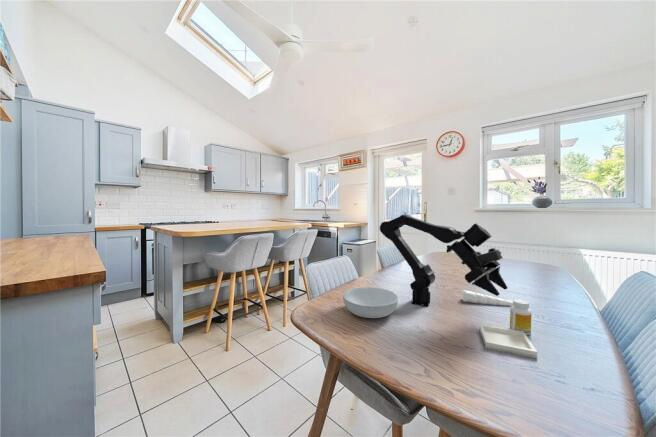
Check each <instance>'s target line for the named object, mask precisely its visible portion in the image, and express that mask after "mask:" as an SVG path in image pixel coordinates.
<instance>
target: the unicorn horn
mask: <svg viewBox="0 0 656 437" xmlns="http://www.w3.org/2000/svg"><path fill="white" fill-rule="evenodd" d="M461 299H462V302H464V303H473V304H482V305H483V304H484V305H493V306H494V305H495V306H503V307H512V306H514V305H513V300H507V299H504V298H498V297H497V296H496V297H495V296H491V295H486V294H482V293H478V292H474V291H470V290H466V289H463V290H462V294H461Z"/></svg>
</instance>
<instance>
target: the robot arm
mask: <svg viewBox="0 0 656 437" xmlns="http://www.w3.org/2000/svg"><path fill="white" fill-rule="evenodd" d="M404 226H408V227H410V228H413V229H416V230H418V231H421V232H424V233H427V234H429V235H430V236H432V237H434V238H435V239H436V240H438V241H440V243H444V244H449V245H446V251H445V252H446V253H452V252H454V254H455V255H456V256H457V257H458V258H459V259H460V260H461V264H462V265H463V266H464V265H465V266H466V267H467V268H468V269H469V270H470V271H469V272H466V274H465V275H464V280H465V281H466V282H467V283H468V284H471V285H472V286H473V285H474V286H476V287H478V288H480V289H483V290H485V291H487V292H488V293H490V294H492V295H495V296H496V297H499V295H501V294H500V292H499V290H498V289H497V288H496V287H495V285H497V286H498V287H500V288H501V289H503V290H507V289H508V285H507V284H506V282H505V280H504V278H503V277H502V275H501V273H500V269H501V266H500V265H501V264H500V263H499V261H500V260H501V259H503V256H502V251H500V250H499V249H497V248H495V247H492V248H489V249H488V251H487V252H484V253H481V252H480V251H476V250H475V249H474V248H473V247H476V248H477V247H478V248H479V247H480V246H481V245H483V244H484V243H485V242H486V241H488V240H490V239H491V238H492V235H491V234H490V232H488V231H487V229H485V228H484V227H482V226H481V225H479V224H478V223H476V222H475V223H474V224H473V225H471V227H469V229H467V230H465V231H460V230H457V229H456V228H454V227H451V226H445V225H438V224H433V223H430V222H428V221H425V220H421V219H418V218H416V217H413V216H410V215H408V214H401V215H399V216H398V217H397V218H394V219H391V220H388V221H383V222H381V223H380V225H379V231H380V233H381V234H382V235H383V236H384V237H385V238H387V239H388V240H390V241H391V242H392V243H393V245H394V247H396V250H398V252H399V253H400V255H401V256H402V257H403V259H404V260H405V261H406V263H407V265H408V266H409V267H410V268H411V271H412V276H413V278H414V281H412V282H411V283H409V286H410V288H411V289H410V290H412V292H411V294H412V295H411V296H412V298H411V300H412V301H411V304H412V305H419V306H424V307H429V305H430V304H431V291H430V286H431V285H432V284H433V283H434V282H435V281H436V276H435V275H436V274H435V271H434V270H433V269H432V268H431V265H429V263H428V264H426V265H425V264H423V263H422V262H421V261H420V259H419V258H418V257H417V255H416V253H414V251H413V250H412V248H411V246H409V244H408V243H407V242H406V240H405V239H404V238H403V236H402V233H401V229H400V228H402V227H404ZM458 240H459V241H458ZM452 242H453V243H452ZM450 243H452V244H451V245H450ZM493 283H494V284H495V285H494V284H493Z"/></svg>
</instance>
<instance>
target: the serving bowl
mask: <svg viewBox="0 0 656 437" xmlns="http://www.w3.org/2000/svg"><path fill="white" fill-rule="evenodd" d="M342 300H343V304H344V306H345V308H346V309H347V311H349V312H351V313H352V314H353V315H355V316H358V317H361V318H366V319H367V318H368V319H380V318H381V319H382V318H384V317H387V316H390V315H391V314H393V312H394V311H395V310H396V309H397V306H398V302H399V296H398V295H397V294H396V293H395V292H394V291H391V290H388V289H385V288H381V287H373V286H372V287H371V286H359V287H352V288H349V289H347V290H345V291H344V292H343V293H342Z"/></svg>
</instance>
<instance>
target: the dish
mask: <svg viewBox="0 0 656 437" xmlns="http://www.w3.org/2000/svg"><path fill="white" fill-rule="evenodd" d="M479 332H480V335H481V338H482V342H483V343H484V344H483V345H484V347H485V349H488V350H492V351H498V352H503V353H507V354H513V355H519V356H524V357H528V358H534V359H538V350H537V349H536V347H535V346H534V344H533V343H532V341H531V340H530V339H529V337H528V335H526V334H525V333H524V331H518V330H512V329H510V328H505V327H500V326H495V325H494V326H492V325H488V324H481V323H480V324H479Z"/></svg>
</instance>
